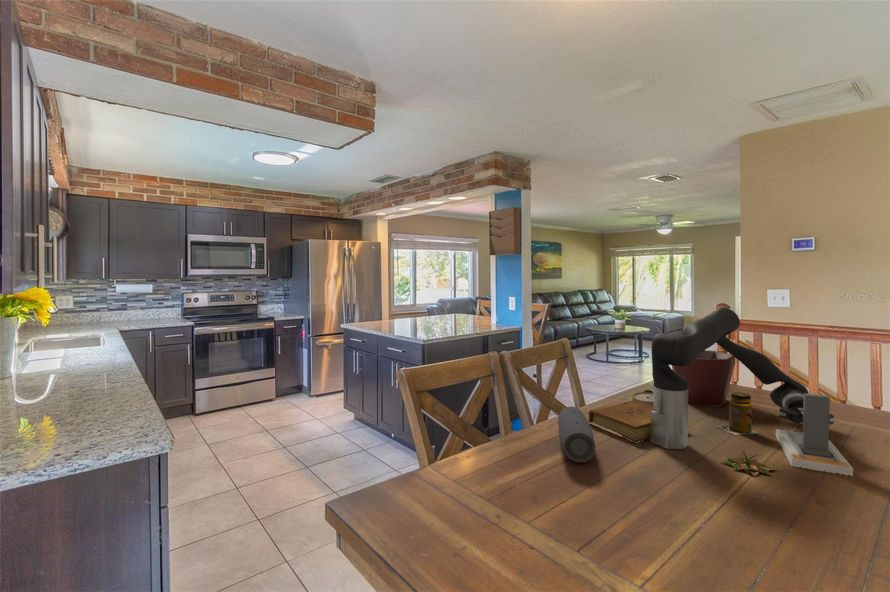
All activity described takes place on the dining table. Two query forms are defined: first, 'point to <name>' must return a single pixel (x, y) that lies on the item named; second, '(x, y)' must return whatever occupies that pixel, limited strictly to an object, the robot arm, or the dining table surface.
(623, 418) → the diary
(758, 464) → the succulent plant
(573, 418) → the bluetooth speaker
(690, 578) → the dining table surface
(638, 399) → the alarm clock
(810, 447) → the switch lever
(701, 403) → the bucket
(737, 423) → the condiment
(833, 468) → the switch board
